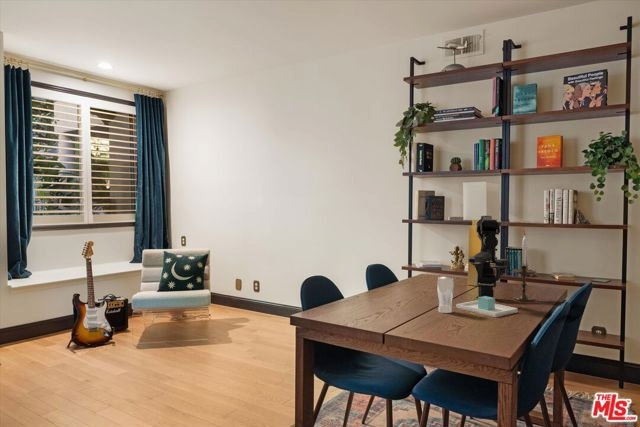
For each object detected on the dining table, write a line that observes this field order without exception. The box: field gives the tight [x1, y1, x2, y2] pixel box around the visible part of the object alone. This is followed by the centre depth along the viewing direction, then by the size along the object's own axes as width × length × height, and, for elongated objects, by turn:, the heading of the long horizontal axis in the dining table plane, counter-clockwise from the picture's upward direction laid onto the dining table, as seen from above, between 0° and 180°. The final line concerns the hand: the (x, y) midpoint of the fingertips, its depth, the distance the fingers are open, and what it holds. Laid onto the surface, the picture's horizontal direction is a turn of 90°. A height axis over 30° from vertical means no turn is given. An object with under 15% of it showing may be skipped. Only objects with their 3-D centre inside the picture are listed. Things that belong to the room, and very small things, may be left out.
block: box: [477, 296, 496, 311], centre depth 200 cm, size 5×5×5 cm
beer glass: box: [436, 276, 455, 314], centre depth 197 cm, size 7×7×15 cm
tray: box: [456, 299, 518, 318], centre depth 200 cm, size 20×16×2 cm
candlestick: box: [511, 229, 537, 302], centre depth 224 cm, size 11×11×35 cm
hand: (488, 279), depth 211 cm, fingers open, 9 cm apart
